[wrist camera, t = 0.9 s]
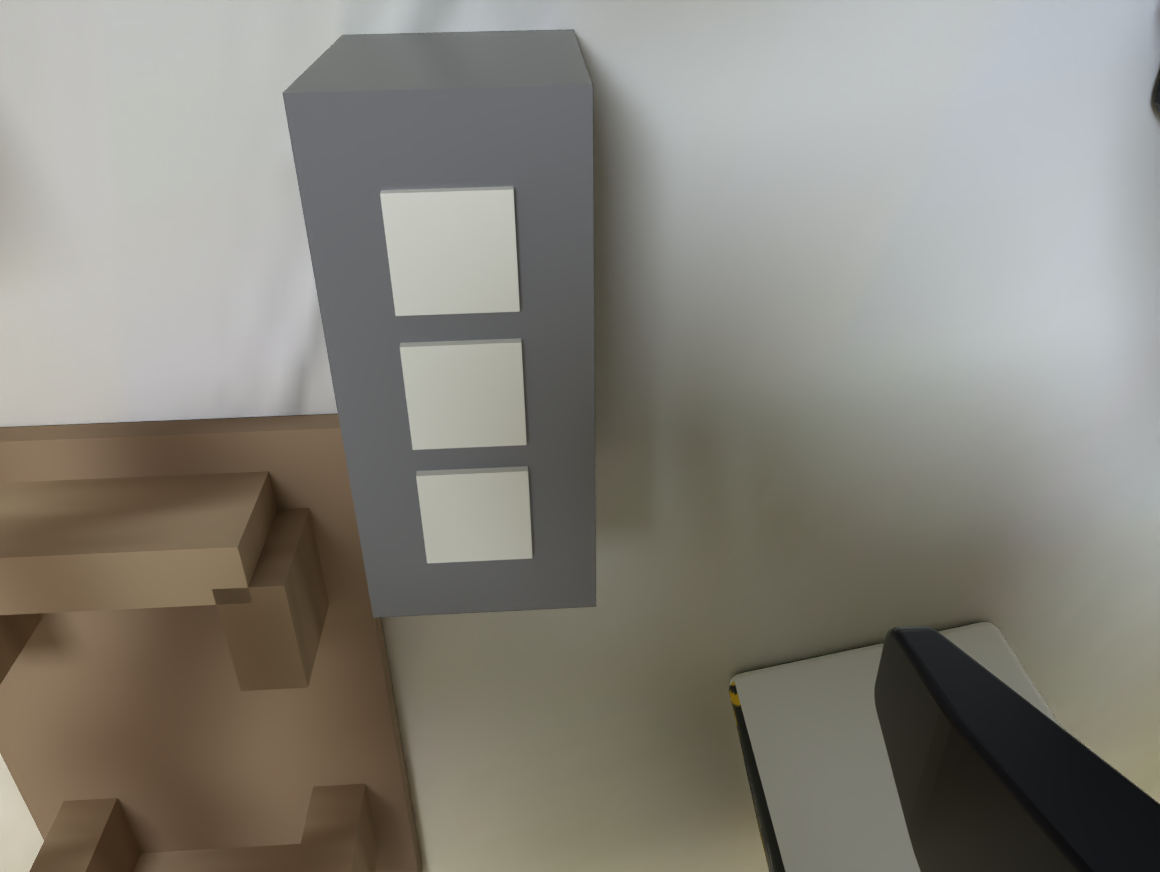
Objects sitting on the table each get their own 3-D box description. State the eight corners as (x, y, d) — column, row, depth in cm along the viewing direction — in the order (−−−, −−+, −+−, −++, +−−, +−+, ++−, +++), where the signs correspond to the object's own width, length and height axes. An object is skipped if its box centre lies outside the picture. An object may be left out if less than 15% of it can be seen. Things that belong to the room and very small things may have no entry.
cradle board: (346, 413, 20) (319, 499, 17) (422, 869, 28) (412, 976, 26) (-135, 432, 20) (-241, 524, 17) (86, 889, 28) (39, 1000, 25)
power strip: (573, 28, 16) (593, 87, 12) (579, 457, 21) (596, 612, 17) (343, 33, 16) (280, 94, 12) (402, 464, 21) (372, 623, 17)
